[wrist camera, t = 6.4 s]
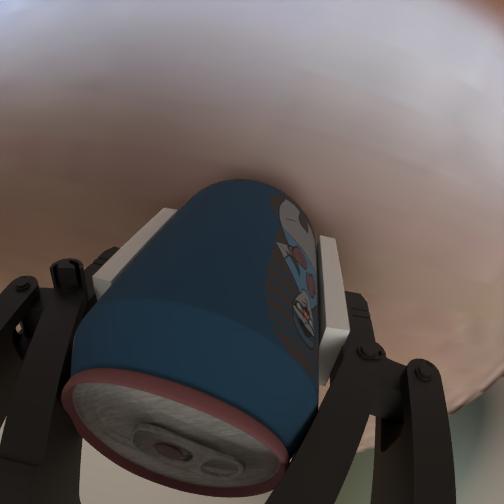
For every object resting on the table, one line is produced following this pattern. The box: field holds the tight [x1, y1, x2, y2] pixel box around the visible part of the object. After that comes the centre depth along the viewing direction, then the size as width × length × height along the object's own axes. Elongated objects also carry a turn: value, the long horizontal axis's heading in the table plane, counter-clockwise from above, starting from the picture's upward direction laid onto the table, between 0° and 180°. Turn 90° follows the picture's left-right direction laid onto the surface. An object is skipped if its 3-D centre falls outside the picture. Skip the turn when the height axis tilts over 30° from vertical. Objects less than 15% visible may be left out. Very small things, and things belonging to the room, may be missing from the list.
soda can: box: [61, 179, 319, 497], centre depth 11 cm, size 7×7×12 cm
